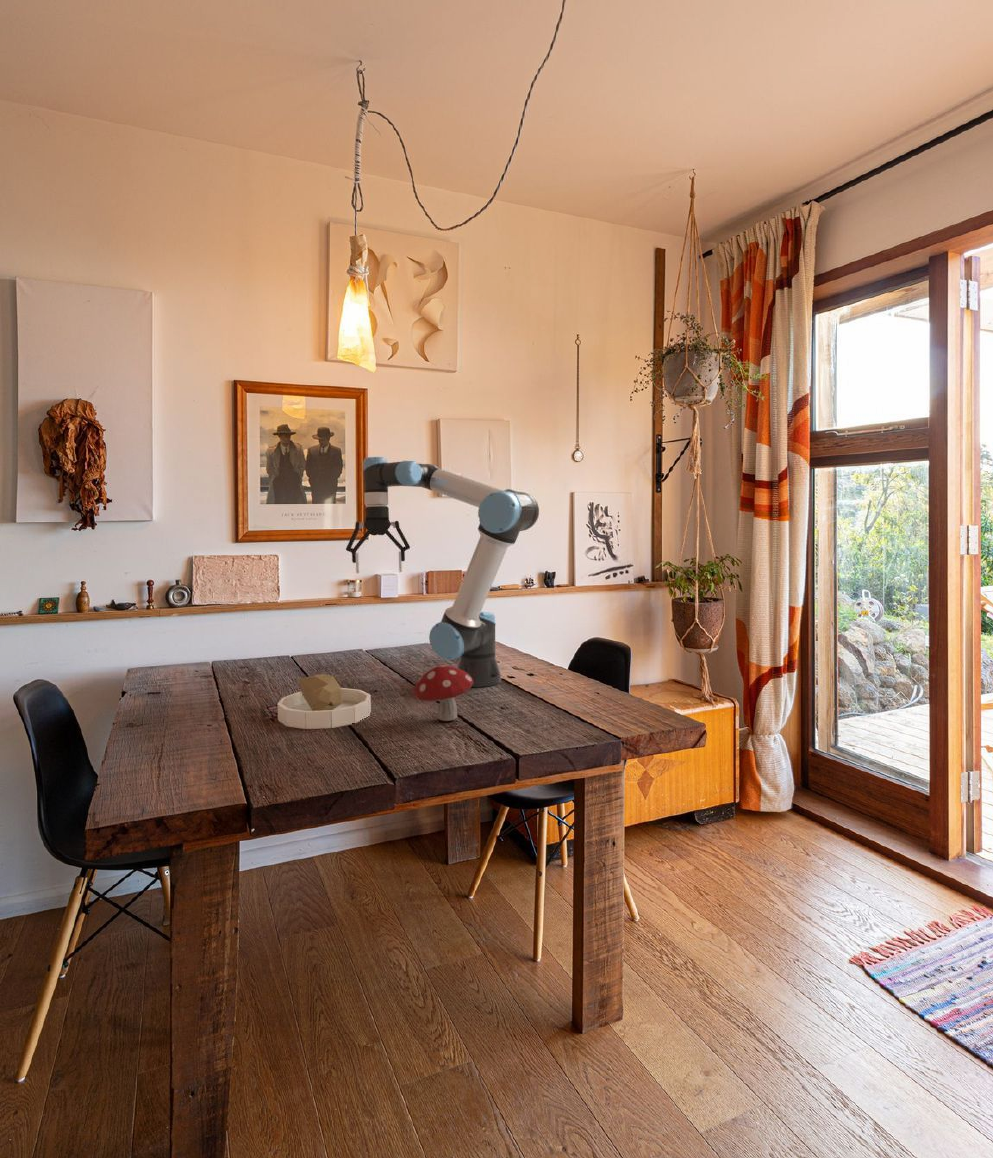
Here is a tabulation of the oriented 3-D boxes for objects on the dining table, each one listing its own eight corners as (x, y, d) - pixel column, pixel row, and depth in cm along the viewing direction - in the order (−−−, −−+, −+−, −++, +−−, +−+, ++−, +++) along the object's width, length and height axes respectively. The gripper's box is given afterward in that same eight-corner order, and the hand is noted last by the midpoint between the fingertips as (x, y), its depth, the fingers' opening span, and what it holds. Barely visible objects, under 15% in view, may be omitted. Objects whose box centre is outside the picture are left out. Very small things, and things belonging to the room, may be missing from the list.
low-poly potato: (313, 704, 197) (282, 693, 188) (333, 671, 198) (303, 658, 189) (341, 729, 187) (309, 719, 178) (362, 694, 188) (332, 682, 179)
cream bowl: (373, 701, 202) (373, 686, 201) (366, 726, 178) (365, 709, 177) (289, 704, 199) (288, 689, 199) (270, 730, 175) (269, 713, 175)
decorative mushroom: (472, 730, 174) (472, 672, 172) (409, 731, 174) (408, 672, 172) (475, 712, 190) (474, 658, 188) (417, 712, 190) (416, 659, 188)
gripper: (415, 505, 226) (418, 570, 228) (338, 507, 223) (340, 573, 225) (415, 504, 219) (418, 571, 220) (335, 506, 216) (338, 574, 217)
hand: (379, 572), depth 223 cm, fingers open, 13 cm apart
